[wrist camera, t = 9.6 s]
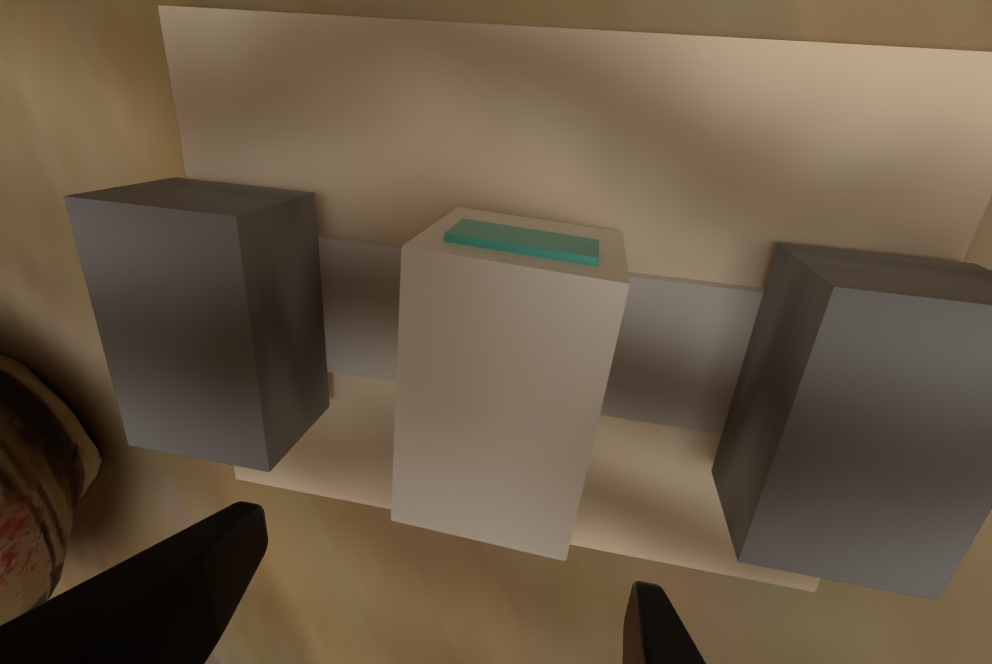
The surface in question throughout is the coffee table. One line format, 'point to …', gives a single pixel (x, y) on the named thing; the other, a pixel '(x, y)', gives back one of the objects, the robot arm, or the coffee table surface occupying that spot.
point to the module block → (503, 374)
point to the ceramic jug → (37, 486)
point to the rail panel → (650, 259)
